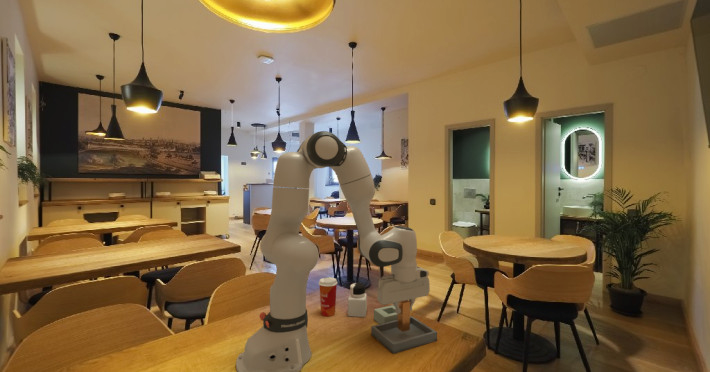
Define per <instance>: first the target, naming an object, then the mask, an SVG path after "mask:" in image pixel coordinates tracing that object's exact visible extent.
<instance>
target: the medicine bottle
mask: <svg viewBox="0 0 710 372" xmlns="http://www.w3.org/2000/svg"><path fill="white" fill-rule="evenodd" d="M349 290H350V291H349V296H348V299H347V316H348V317H352V318H353V317H354V318H355V317H359V318H366V316H367V309H368V307H367V306H368V301H367V300H368V299H367V298H368V294H367V293H366V285H365V284H363V283H361V282H355V283H352V284H350V289H349Z"/></svg>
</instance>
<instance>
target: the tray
mask: <svg viewBox="0 0 710 372" xmlns="http://www.w3.org/2000/svg"><path fill="white" fill-rule="evenodd" d="M370 331H371V332H370V333H371V334H370V335H371V336H372V337H374V339H376V340H377V341H378V342H379V344H381V345H383V346H384V348H386V349H387V350H388V351H390V353H392V354H393V355H395V354H398V353H402V352H405V351H408V350H411V349H414V348H417V347H420V346H424V345H427V344H431V343H434V342H436V341H438V331H436V330H435V329H434V328H432V327H430V326H428V325H426V324H425V323H424V322H422V321H420V320H419V319H417V318H416V317H414V316H412V315H410V330H408V331H404V332H402V331H401V330H399V329H398V320H394V321H390V322H386V323H382V324H379V323H378V324H375V325H371V326H370Z"/></svg>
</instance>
